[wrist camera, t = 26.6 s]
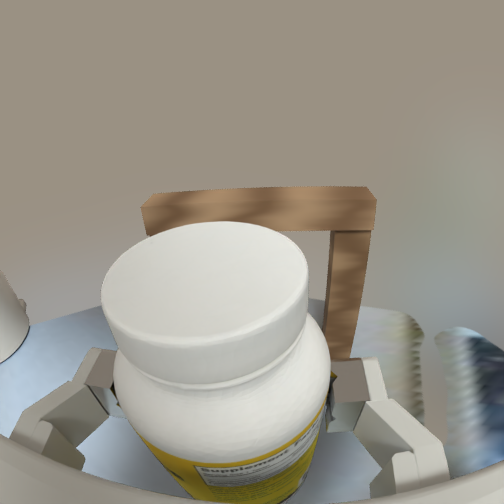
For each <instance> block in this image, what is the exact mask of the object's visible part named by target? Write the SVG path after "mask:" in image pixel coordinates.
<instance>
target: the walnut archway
mask: <svg viewBox="0 0 504 504" xmlns="http://www.w3.org/2000/svg"><path fill="white" fill-rule="evenodd" d="M376 201H377V200H376V198H375V197H374V196H373V195H372V193H371V192H370V191H369V189H368V188H367V187H334V186H333V187H332V186H329V187H328V186H326V187H324V186H323V187H322V186H321V187H268V188H267V187H266V188H265V187H264V188H238V189H218V190H201V191H184V192H171V193H158V194H153V195H152V196H151V197H150V198H149V199H148V200H147V201H146V202H145V203H144V204H143V205H142V206H141V211H142V216H143V220H144V224H145V229H146V234H147V235H150V237H151V236H153V235H156V234H158V233H161V232H164V231H167V230H170V229H173V228H176V227H180V226H184V225H189V224H195V223H204V222H217V221H230V222H241V223H249V224H254V225H259V226H262V227H266V228H269V229H271V230H274V231H323V230H324V231H325V230H326V231H327V230H331V233H330V249H329V264H328V276H327V288H326V299H325V309H324V319H323V328H322V332H323V334H324V337H325V339H326V342H327V345H328V349H329V354H330V360H333V359H348V358H349V357H350V353H351V348H352V344H353V339H354V335H355V330H356V325H357V320H358V315H359V309H360V304H361V298H362V292H363V286H364V280H365V274H366V267H367V261H368V253H369V245H370V238H371V230H373V229H374V221H375V212H376Z"/></svg>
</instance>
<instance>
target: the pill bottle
mask: <svg viewBox="0 0 504 504" xmlns="http://www.w3.org/2000/svg"><path fill="white" fill-rule="evenodd" d="M308 294H309V270H308V265H307V261H306V258H305V256H304V254H303V253H302V251H301V250H300V248H299V247H298V246H297V245H296V244H295V243H294V242H293V241H291V240H290V239H289V238H287V237H286V236H284V235H282V234H280V233H278V232H276V231H274V230H271V229H269V228H266V227H262V226H259V225H254V224H249V223H241V222H230V221H217V222H204V223H195V224H189V225H184V226H180V227H176V228H173V229H170V230H167V231H164V232H161V233H158V234H156V235H153V236H151V237H149V238H147V239H145V240H143V241H141V242H139V243H138V244H136V245H135V246H133V247H132V248H130V249H129V250H127V251H126V252H125V253H124V254H122V255H121V256H120V257H119V258H118V259H117V260H116V261H115V263H114V264H113V265H112V266H111V268H110V269H109V271H108V272H107V274H106V276H105V279H104V280H103V283H102V287H101V304H102V309H103V312H104V315H105V317H106V320H107V322H108V324H109V327H110V329H111V331H112V334H113V336H114V339H115V341H116V344H117V346H118V350H117V353H116V357H115V362H114V371H113V377H114V387H115V392H116V396H117V399H118V402H119V404H120V406H121V409H122V410H123V412H124V414H125V416H126V418H127V420H128V421H129V423H130V424H131V426H132V427H133V428H134V430H135V431H136V432H137V434H138V435H139V436H140V438H141V439H142V440H143V441H144V443H145V444H146V445H147V447H148V448H149V449H150V450H151V452H152V453H153V454H154V455H155V457H156V458H157V459H158V460H159V461H160V462H161V464H162V465H163V466H164V467H165V468H166V470H167V471H168V472H169V473H170V474H171V475H172V476H173V477H174V479H175V480H176V481H177V482H178V483H179V484H180V485H181V486H182V487H183V488H184V489H185V490H186V492H187V493H189V494H190V495H191V496H192V497H193V498H194V499H196V500H203V501H211V502H220V503H230V504H284V503H285V502H286V501H288V500H289V499H290V498H291V497H292V496H294V495H295V493H296V492H297V491H298V490H299V489H300V487H301V486H302V484H303V482H304V480H305V478H306V476H307V473H308V470H309V467H310V464H311V461H312V457H313V454H314V450H315V446H316V443H317V438H318V434H319V430H320V426H321V421H322V417H323V413H324V408H325V404H326V399H327V394H328V390H329V383H330V373H331V362H330V354H329V349H328V345H327V342H326V339H325V337H324V334H323V332H322V331H321V329H320V327H319V326H318V324H317V323H316V321H315V320H314V318H313V317H312V316H311V315H310V314H309V313H308V312H307V311H308V298H309V297H308V296H309V295H308Z"/></svg>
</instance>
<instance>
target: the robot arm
mask: <svg viewBox="0 0 504 504" xmlns="http://www.w3.org/2000/svg"><path fill="white" fill-rule="evenodd" d="M25 311H26V303H25V302H24V300H23V299H18V298H17V296H16V294H15V293H14V291H13V289H12V287H11V286H10V284H9V282H8V280H7V279H6V277H5V275H4V274H3V272H2V271H0V363H1V362H2V361H4V360H5V359H7V358H8V357H9V356H10V355H12V354H13V353H14V352H15V351H16V350H17V348H18V347H19V346H20V345H21V343H22V342H23V340H24V338H25V337H26V334H27V332H28V329H29V319H28V317H27V315H26V312H25ZM116 353H117V351H112V350H106V349H100V348H91V349H90V350H89V351H88V352H87V354H86V356H85V358H84V360H83V361H82V363H81V365H80V367H79V369H78V370H77V372H76V374H75V376H74V378H73V380H72V381H67V382H66V383H64V384H63V385H61V386H60V387H58V388H57V389H55V390H54V391H52V392H51V393H49V394H48V395H47V396H45V397H44V398H42V399H41V400H39V401H38V402H36V403H35V404H33V405H32V406H30V407H29V408H27V409H26V410H24V411H23V412H22V414H21V416H20V418H19V420H18V422H17V424H16V426H15V428H14V430H13V432H12V434H11V436H10V438H7V437H5V436H3V435H1V434H0V504H230V503H220V502H211V501H203V500H196V499H189V498H183V497H177V496H172V495H166V494H161V493H157V492H152V491H148V490H143V489H139V488H135V487H131V486H128V485H124V484H120V483H117V482H113V481H110V480H107V479H104V478H100V477H97V476H94V475H91V474H88V473H86V472H83V471H82V468H83V465H84V462H85V457H84V455H83V454H82V453H81V452H79V451H78V450H77V449H76V447H77V446H78V445H79V444H81V443H82V442H83V441H84V440H85V439H86V438H87V437H88V436H89V435H90V434H91V433H92V432H94V431H95V430H96V429H97V428H98V427H99V426H100V425H101V424H102V423H103V422H104V421H105V420H106V419H107V418H109V416H113V417H118V418H124V419H127V418H126V416H125V414H124V412H123V410H122V409H121V406H120V404H119V402H118V399H117V396H116V392H115V387H114V377H113V371H114V362H115V357H116ZM330 362H331V373H330V383H329V390H328V394H327V399H326V404H325V405H326V406H327V410H326V414H325V419H326V430H327V433H331V432H349V431H353V433H354V434H355V436H356V437H357V438H358V439H359V441H360V442H361V443H362V444H363V446H364V447H365V448H366V449H367V451H368V452H369V453H370V454H371V456H372V457H373V458H374V459H375V461H376V462H377V463H378V464H379V466H380V467H381V468H382V470H381V472H380V473H379V474H378V475H377V476H376V477H375V478H374V480H373V481H372V482H371V483H370V496H371V499H365V500H358V501H350V502H341V503H331V504H504V460H502V461H500V462H498V463H495V464H493V465H491V466H488V467H486V468H483V469H481V470H478V471H475V472H473V473H470V474H467V475H464V476H461V477H458V478H455V479H452V480H451V478H450V474H449V469H448V465H447V461H446V457H445V453H444V449H443V445H442V442H441V441H439V440H438V439H437V438H436V437H435V436H434V435H433V434H432V433H430V432H429V431H428V430H427V429H426V428H425V427H424V426H423V425H422V424H420V423H419V422H418V421H417V420H416V419H415V418H414V417H413V416H412V415H411V414H409V413H408V412H407V411H406V410H405V409H404V408H403V407H402V406H401V405H399V404H398V403H397V402H396V401H395V400H394V399H393V398H392V399H388V396H387V392H386V388H385V384H384V380H383V376H382V372H381V368H380V365H379V361H378V359H377V357H365V358H348V359H333V360H330Z"/></svg>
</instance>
